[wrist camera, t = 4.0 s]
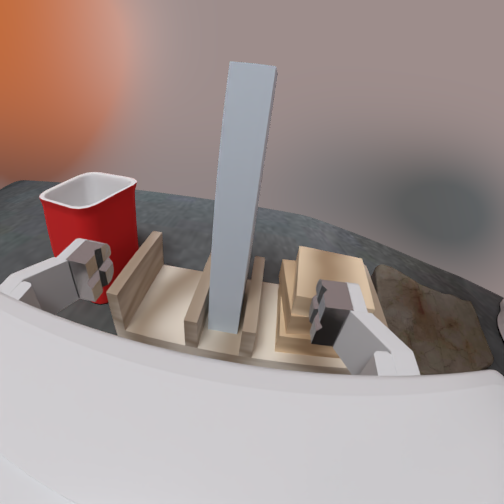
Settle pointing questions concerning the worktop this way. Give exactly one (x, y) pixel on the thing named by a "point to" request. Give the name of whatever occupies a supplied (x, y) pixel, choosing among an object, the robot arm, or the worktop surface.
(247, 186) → the tall board
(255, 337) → the offcut rack
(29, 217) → the worktop surface
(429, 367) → the brown flat slab
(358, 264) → the offcut stack
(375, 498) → the robot arm
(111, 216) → the mug
